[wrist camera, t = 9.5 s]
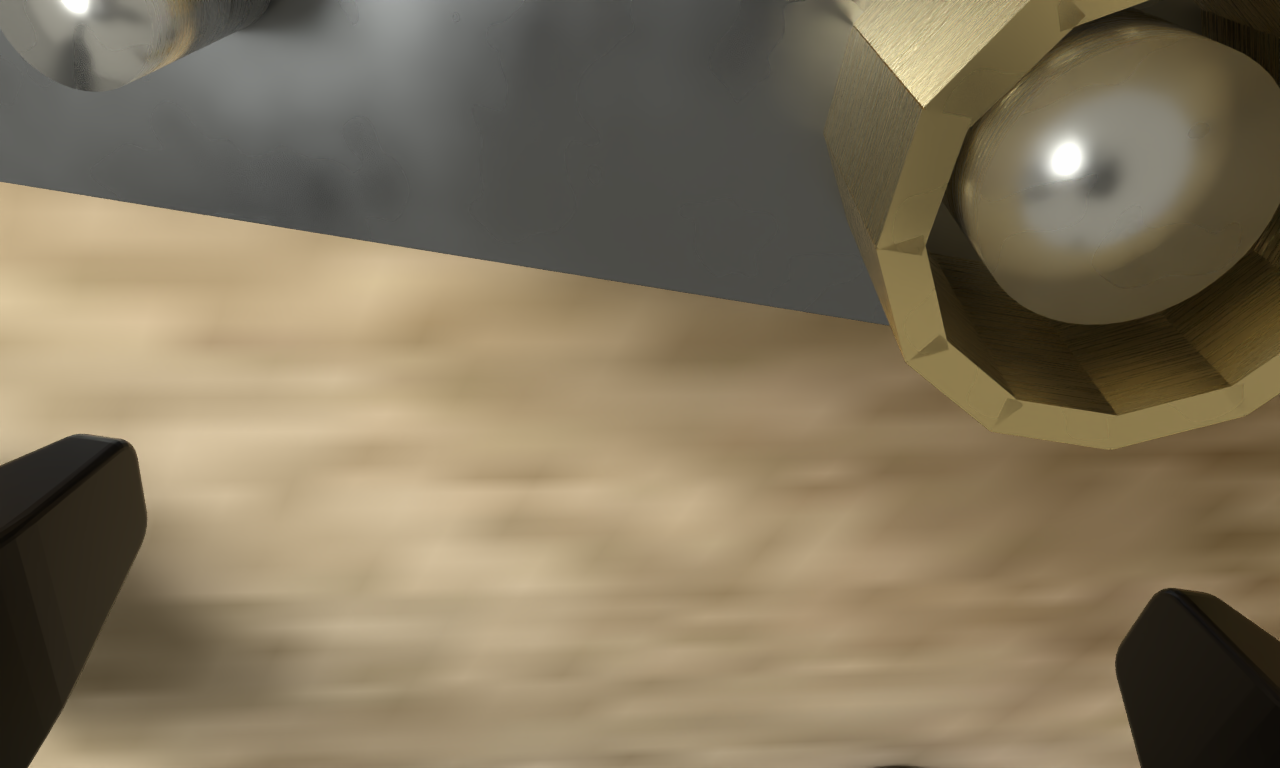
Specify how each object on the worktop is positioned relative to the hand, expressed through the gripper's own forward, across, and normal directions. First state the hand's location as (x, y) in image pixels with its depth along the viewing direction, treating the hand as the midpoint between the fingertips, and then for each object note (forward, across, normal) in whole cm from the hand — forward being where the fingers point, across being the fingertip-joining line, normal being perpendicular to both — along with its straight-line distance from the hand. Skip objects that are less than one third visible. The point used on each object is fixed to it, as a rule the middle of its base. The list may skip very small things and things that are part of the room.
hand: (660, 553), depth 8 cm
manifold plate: (+11, +1, -2) cm, 12 cm away
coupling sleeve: (+10, -6, -2) cm, 12 cm away
